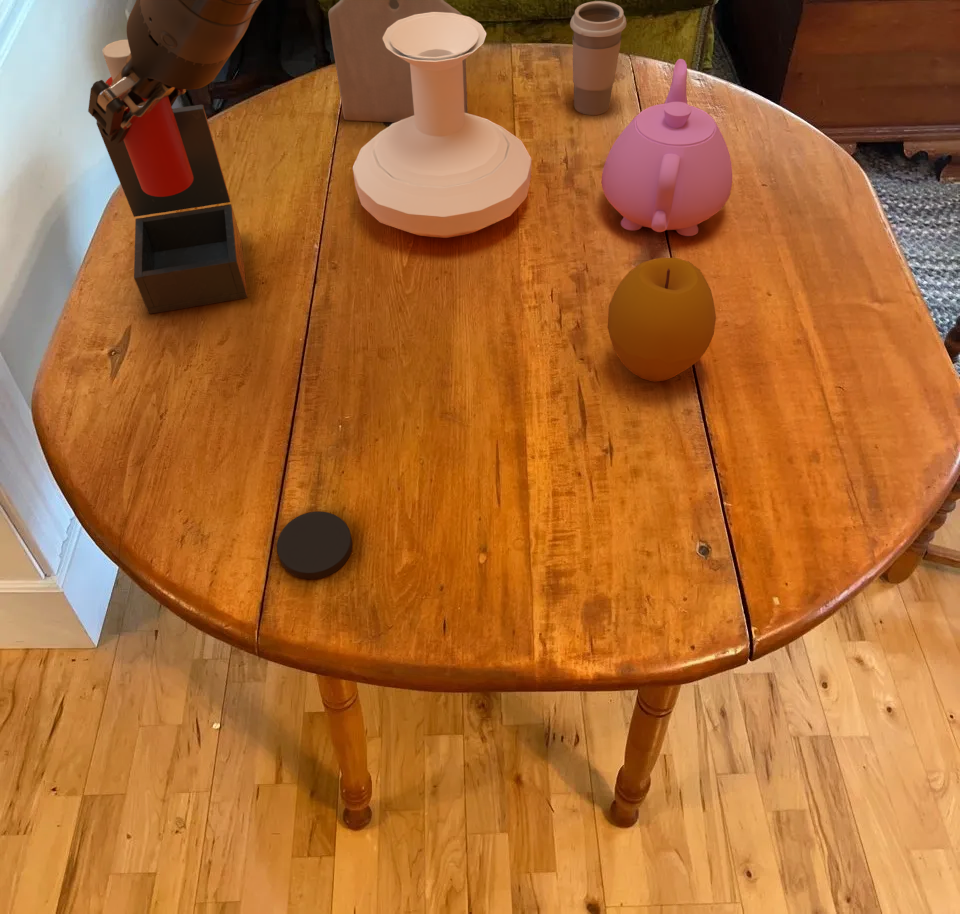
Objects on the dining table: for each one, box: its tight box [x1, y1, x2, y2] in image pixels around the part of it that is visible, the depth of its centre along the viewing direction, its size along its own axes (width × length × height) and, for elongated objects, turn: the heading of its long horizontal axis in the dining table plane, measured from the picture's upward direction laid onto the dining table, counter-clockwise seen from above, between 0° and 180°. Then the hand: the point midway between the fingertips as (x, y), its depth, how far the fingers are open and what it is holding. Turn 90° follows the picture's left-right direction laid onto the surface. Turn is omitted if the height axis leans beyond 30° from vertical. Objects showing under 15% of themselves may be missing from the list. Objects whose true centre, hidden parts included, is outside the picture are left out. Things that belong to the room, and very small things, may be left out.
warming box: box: [133, 203, 248, 315], centre depth 92 cm, size 10×10×5 cm
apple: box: [606, 257, 717, 383], centre depth 79 cm, size 10×10×12 cm
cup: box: [569, 0, 627, 116], centre depth 109 cm, size 7×7×12 cm
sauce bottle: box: [102, 39, 194, 197], centre depth 79 cm, size 5×5×13 cm
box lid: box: [96, 104, 231, 218], centre depth 89 cm, size 11×10×1 cm
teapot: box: [600, 58, 733, 237], centre depth 95 cm, size 20×14×12 cm
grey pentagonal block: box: [327, 0, 469, 124], centre depth 107 cm, size 16×8×19 cm, turn 83°
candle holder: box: [351, 12, 533, 239], centre depth 94 cm, size 20×20×19 cm
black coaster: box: [276, 511, 353, 580], centre depth 71 cm, size 6×6×1 cm
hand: (133, 119), depth 80 cm, fingers closed on sauce bottle, 5 cm apart
